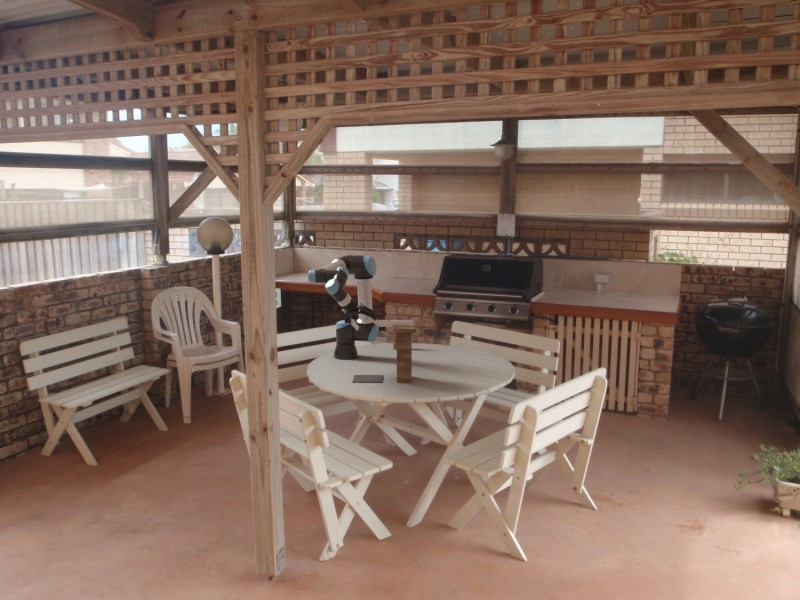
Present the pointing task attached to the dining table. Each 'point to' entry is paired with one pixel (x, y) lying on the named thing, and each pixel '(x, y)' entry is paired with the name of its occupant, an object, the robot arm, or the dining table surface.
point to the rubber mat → (368, 378)
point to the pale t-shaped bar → (395, 323)
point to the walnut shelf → (404, 352)
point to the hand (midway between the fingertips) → (367, 326)
